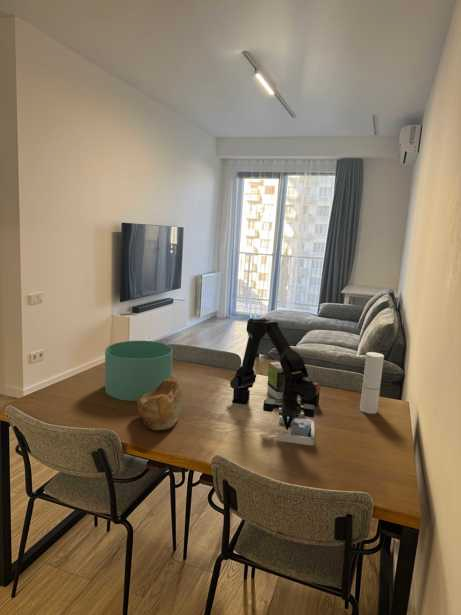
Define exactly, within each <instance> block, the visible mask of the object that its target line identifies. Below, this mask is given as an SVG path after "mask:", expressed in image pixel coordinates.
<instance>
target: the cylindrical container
mask: <svg viewBox="0 0 461 615" xmlns="http://www.w3.org/2000/svg"><path fill="white" fill-rule="evenodd" d="M384 359H385V355H384V354H382V353H379V352H375V351H369V352H366V353H365V363H364V369H363V371H364V372H363V378H362V379H363V380H362V388H361V394H360V395H361V396H360V404H359V410H360V411H361V412H363V413H366V414H370V415H372V414H373V415H375V414H377V413H378V409H379V408H378V406H379V398H380V391H381V382H382V376H383V369H384V368H383V367H384Z"/></svg>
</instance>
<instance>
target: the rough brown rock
mask: <svg viewBox="0 0 461 615" xmlns="http://www.w3.org/2000/svg"><path fill="white" fill-rule="evenodd" d="M182 401H183V390H182V389H181V386H180V382H179V380H178V379H177V378H175V377H174V376H173V375H172V376H170V377H169V378H168V379H166V380H164V381H163V382H162V383H161V384H160V385H159V386H158V387H157V388H156V389H155V390H153V391H151V392H149V393H146V394H144V395H142V396H141V397H140V398H139V399H138V400H137V401H136V404H137V409H138V412H139V415H140V416H141V419H142V422H143V425H144V427H146V429H147V430H153V431H165V430H168V429H169V430H170V429H171V428H172V427H174V426H175V425H176V423H177V420H178V418H179V416H180V414H181V404H182Z"/></svg>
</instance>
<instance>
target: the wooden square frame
mask: <svg viewBox="0 0 461 615" xmlns="http://www.w3.org/2000/svg"><path fill="white" fill-rule="evenodd" d="M301 407H304V405H301ZM287 417H288V416H287ZM295 418H302V419H307V417H306V416H305V415H304V412H301V414H298V417H295Z"/></svg>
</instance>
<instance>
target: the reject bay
mask: <svg viewBox="0 0 461 615" xmlns="http://www.w3.org/2000/svg"><path fill="white" fill-rule="evenodd" d="M288 419H289V417H287V422H288ZM295 419H299V420H304V421H309V422H311V432H310V435H309V437H305V436H298V435H291V433H281V432H277V433H276V442H284V443H290V444H291V443H292V444H298V445H303V446H304V445H305V446H312V447H315V440H316V439H315V420H314V419H309V418H306V419H302V418H294V419H293V420H292V422H291V424H290V426H292V424H293V422H294V421H295ZM278 421H279V422H278V423H279V424H283V425H285V424H284V420H283V417H282V416H281V415H279V420H278Z"/></svg>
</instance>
